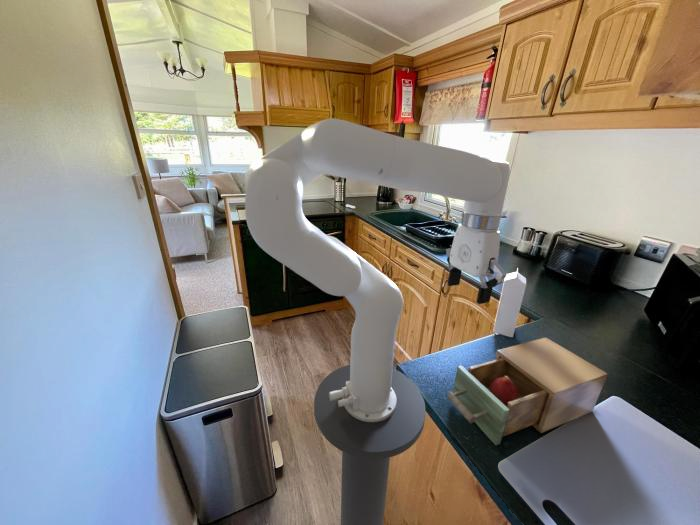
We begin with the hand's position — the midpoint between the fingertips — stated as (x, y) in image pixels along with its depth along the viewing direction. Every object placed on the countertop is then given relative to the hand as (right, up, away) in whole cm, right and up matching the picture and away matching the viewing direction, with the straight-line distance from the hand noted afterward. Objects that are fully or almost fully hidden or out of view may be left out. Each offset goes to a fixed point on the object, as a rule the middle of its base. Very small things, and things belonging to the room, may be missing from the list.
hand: (467, 293), depth 68 cm
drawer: (+4, -26, -3) cm, 27 cm away
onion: (+6, -25, -3) cm, 26 cm away
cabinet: (+18, -26, +2) cm, 31 cm away
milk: (+24, -16, +30) cm, 41 cm away
